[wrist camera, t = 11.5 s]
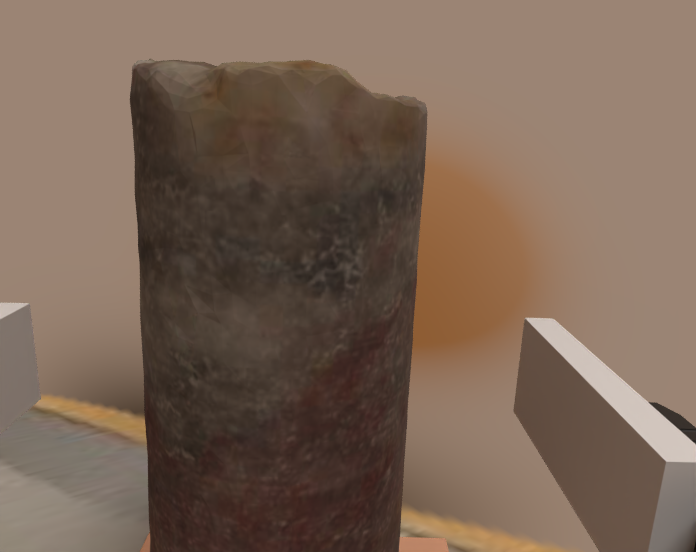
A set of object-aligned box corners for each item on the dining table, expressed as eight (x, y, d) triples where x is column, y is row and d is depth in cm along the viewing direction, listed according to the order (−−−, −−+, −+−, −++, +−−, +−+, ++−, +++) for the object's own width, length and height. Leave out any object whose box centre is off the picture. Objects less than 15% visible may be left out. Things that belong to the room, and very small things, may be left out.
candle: (300, 579, 23) (306, 80, 18) (439, 710, 18) (500, 67, 13) (119, 699, 18) (58, 52, 13) (240, 929, 13) (217, 11, 8)
